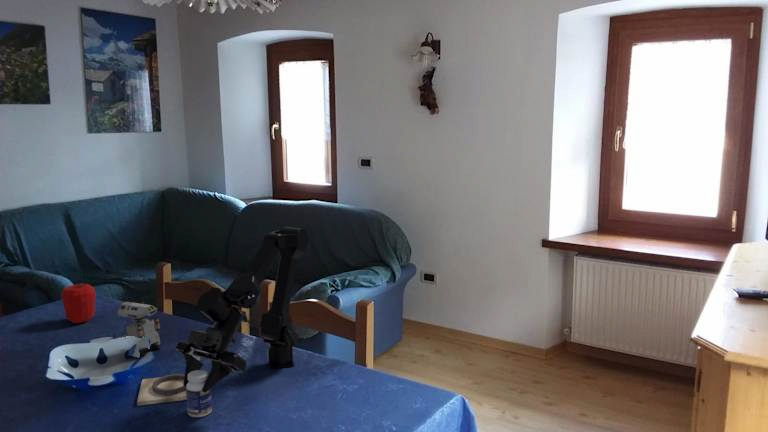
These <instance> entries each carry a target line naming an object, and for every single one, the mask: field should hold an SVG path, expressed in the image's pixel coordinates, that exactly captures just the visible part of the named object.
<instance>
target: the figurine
mask: <svg viewBox="0 0 768 432" xmlns="http://www.w3.org/2000/svg"><path fill="white" fill-rule="evenodd" d="M157 310H158V308H157V307H156V306H155V305H151V304H145V302H144V301H142V302H140V303H137V302H132V301H131V302H130V301H125V302H122V303H121V304H120V306H119V308H118V310H117V316H119V317H124V318H131V320H132V322H131V323H130V324H128V325H126V326H125V327H126V332H127V333H126V334H124V335H122V336H121V337H120V338H122V337H126V336H135V337H137V338H142V337H143V336H144V337H145V336H146V337H147V338H148V339H149V343H150V344H151V347H152V349H154V350H155V349H156V350H159V349H161V348H162V343H161V338H160V336H159V333H158V331H160V330H161V325H160V320H159V318H157V317H156V316H153V315H154V314H156V313H157ZM145 316H147V317H148V316H149V317H150V316H153V317H150V319H148V318H145ZM153 318H155V320H154V319H153ZM113 338H114V339H115V340H116V339H117V338H118V337H117V336H116V335H115V333H113V334H112V339H113ZM151 347H150V348H151Z"/></svg>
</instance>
